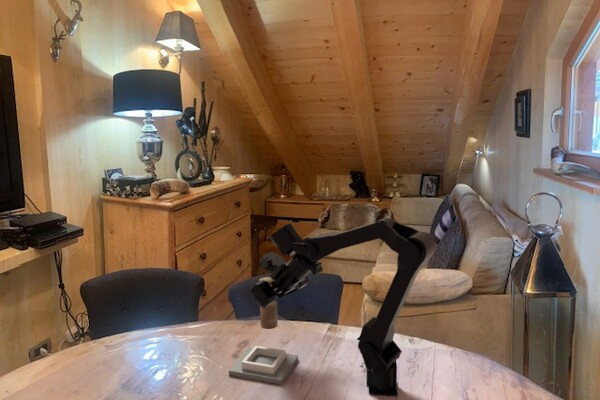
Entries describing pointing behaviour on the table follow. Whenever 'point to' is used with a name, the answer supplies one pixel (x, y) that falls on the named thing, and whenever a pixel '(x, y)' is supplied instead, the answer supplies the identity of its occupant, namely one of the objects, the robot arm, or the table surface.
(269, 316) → the walnut post
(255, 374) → the grey framed base plate
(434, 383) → the table surface
